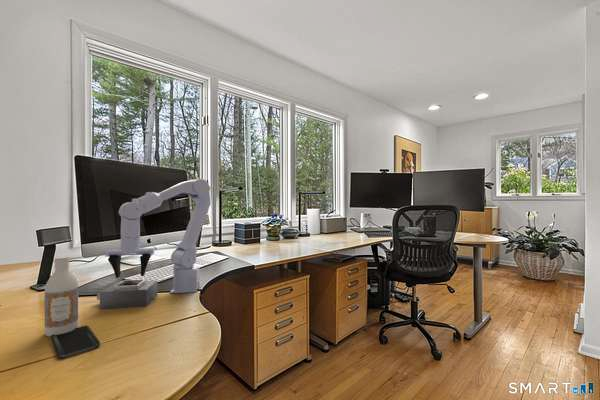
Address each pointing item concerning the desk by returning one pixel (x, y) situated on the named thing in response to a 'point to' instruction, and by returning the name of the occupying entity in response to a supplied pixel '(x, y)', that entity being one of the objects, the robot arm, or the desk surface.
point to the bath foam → (61, 299)
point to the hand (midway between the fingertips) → (130, 276)
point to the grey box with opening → (128, 294)
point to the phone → (74, 342)
